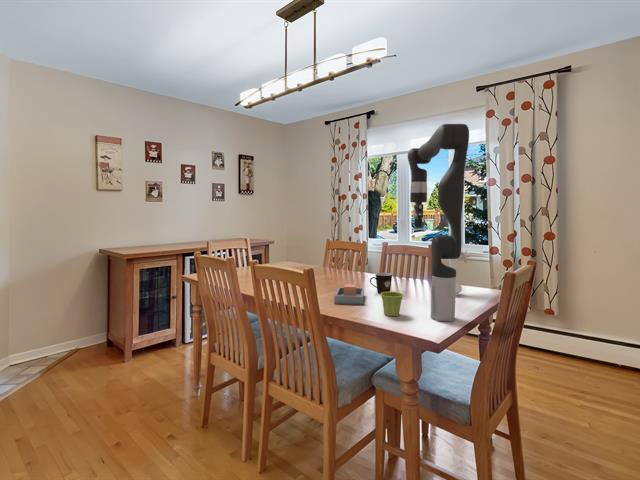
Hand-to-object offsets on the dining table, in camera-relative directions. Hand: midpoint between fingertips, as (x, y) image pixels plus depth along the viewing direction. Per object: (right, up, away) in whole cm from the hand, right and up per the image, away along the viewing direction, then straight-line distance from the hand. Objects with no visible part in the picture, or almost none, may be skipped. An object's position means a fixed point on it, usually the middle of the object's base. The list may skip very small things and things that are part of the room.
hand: (418, 226), depth 166 cm
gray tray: (-32, -35, +6) cm, 47 cm away
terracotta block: (-31, -34, +6) cm, 47 cm away
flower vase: (+22, -34, +16) cm, 44 cm away
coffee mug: (-14, -34, +20) cm, 42 cm away
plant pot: (-16, -37, -18) cm, 45 cm away
